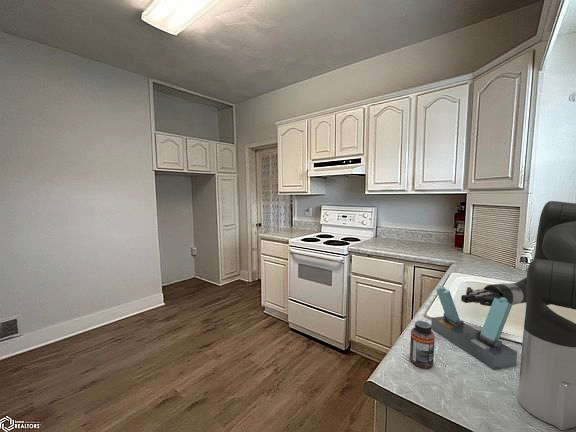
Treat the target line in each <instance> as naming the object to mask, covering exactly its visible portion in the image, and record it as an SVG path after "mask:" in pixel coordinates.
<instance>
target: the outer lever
mask: <svg viewBox="0 0 576 432" xmlns="http://www.w3.org/2000/svg"><path fill="white" fill-rule="evenodd" d="M435 290H436V293H437V296H438V299H439V301H440V304H441V306H442V309H443V313H445V315H446V319H448V320H449V321H451V322H453V323H455V324H456V325H457V324H458V321H460V320H461V319H460V317H459V314H458V311H457V307H456V305H455V302H454V300H453V296H452V294H451V291H450V290H448V289H447V288H446V287H444V286H441V285H440V286H438V287H436V288H435Z"/></svg>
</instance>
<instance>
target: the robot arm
mask: <svg viewBox="0 0 576 432" xmlns="http://www.w3.org/2000/svg"><path fill="white" fill-rule="evenodd" d="M533 255H534V256H533V259H532V260H531V261H530V263H529V264H528V267H527V271H526V277H524V278H523V279H521V280H519V281H517V282H511V283H506V282H505V283H504V282H503V283H495V284H493V283H492V284H488V285H486V286H484V287H483V288H481V289H476V290H474V289H473V288H472V287H470V286H468V287H466V290H465V291H466V293H465V294H462V295H461V297H460V299H461V300H460V301H461V302H462V303H464V304H469V303H474V304H479V305H481V306H485V307H491V305H492V303H493V300H494V298H497V299H500V298H502V297H503V298H506V299H507V300H508V303H510V304H512V306H514V305H517V304H525V303H526V304H525V316H524V324H523V331H522V332H523V333H522V343H521V356H520V368H519V378H518V388H517V391H518V392H517V401H518V403H519V404H520V406H521V407H522V408H524V410H526V411H527V412H528V413H529V414H531V415H532V416H534V417H536V418H537V419H539V420H541V421H542V422H545V423H548V424H551V425H552V426H554V427H556V428H558V430H560V431H565V430H568V429H573V428H576V323H575V322H574V321H572V320H569V319H568V318H565V317H563V316H561V315H560V314H559V313H557V312H555V311H554V310H552V309H551V308H550V307H549V306H551V305H553V306H557V307H561V308H566V309H571V310H575V311H576V203H574V202H566V201H565V202H564V201H556V200H549V201H547V202H546V203H545V204H544V206H543V207H542V211H541V213H540V216H539V221H538V227H537V233H536V240H535V251H534V254H533Z"/></svg>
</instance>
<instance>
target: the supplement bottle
mask: <svg viewBox="0 0 576 432" xmlns="http://www.w3.org/2000/svg"><path fill="white" fill-rule="evenodd" d="M435 340H436V339H435V334H434V332H433V331H432V329H431V323H429V322H427V321H424V320H417V321H415V322H414V327H412V329H411V330H410V345H409V346H410V348H409V360H410V361H411V362H412V364H414V365H415V366H417V367H419V368H422V369H429V368H432V367H433V365H434V362H435V361H434V359H435V358H434V357H435V343H436V341H435Z"/></svg>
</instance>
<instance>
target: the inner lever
mask: <svg viewBox="0 0 576 432" xmlns="http://www.w3.org/2000/svg"><path fill="white" fill-rule="evenodd" d="M512 307H513V305H512V304H510V303H508V300H507V299H506V298H503V297H502V298H500V299H497V298H494V300H493V303H492V305H491V306H490V307H489V310H488V312H487V314H486V315H487V316H486V318H485V321H484V322H483V326H482V328H481V333H480V335H479V337H480V338H481V339H483V340H484V341H486V342H488V343H490V344H492V345H493V346H494V344H495V341H500V338H501V335H502V333H503V330H504V328H505V325H506V323H507V320H508V317H509V314H510V312H511V309H512Z"/></svg>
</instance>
